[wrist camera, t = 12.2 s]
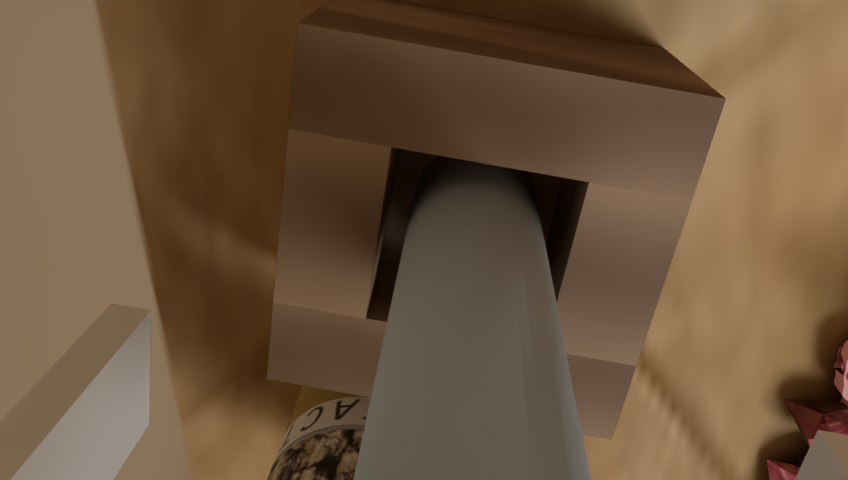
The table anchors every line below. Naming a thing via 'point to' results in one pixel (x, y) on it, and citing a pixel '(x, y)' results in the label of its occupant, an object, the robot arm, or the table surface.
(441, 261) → the dowel
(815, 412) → the candy landscape model
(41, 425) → the robot arm
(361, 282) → the hollow walnut box
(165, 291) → the table surface
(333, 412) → the bark covered log
